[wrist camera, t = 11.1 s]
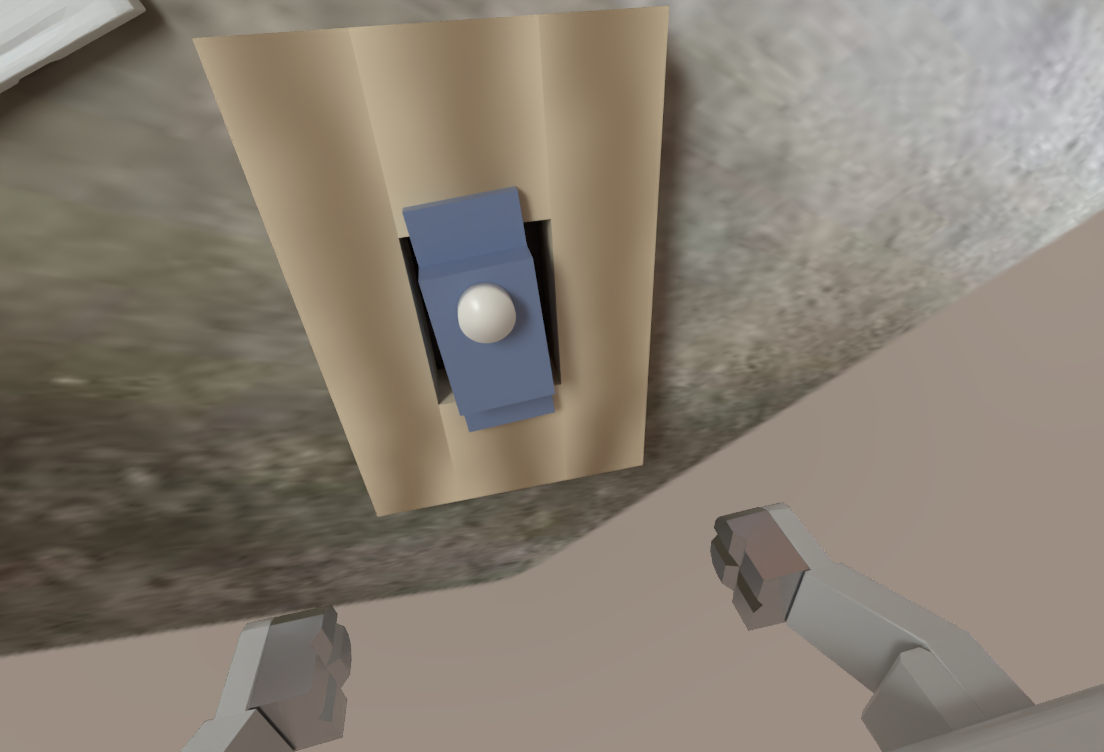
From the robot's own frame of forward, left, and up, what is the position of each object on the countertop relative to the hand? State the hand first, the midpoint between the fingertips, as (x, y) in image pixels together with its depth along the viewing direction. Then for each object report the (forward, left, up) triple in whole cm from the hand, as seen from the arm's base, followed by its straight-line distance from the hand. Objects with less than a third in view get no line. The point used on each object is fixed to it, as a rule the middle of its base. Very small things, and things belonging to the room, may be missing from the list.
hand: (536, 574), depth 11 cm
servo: (0, 0, -15) cm, 15 cm away
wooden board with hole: (0, 0, -15) cm, 15 cm away
